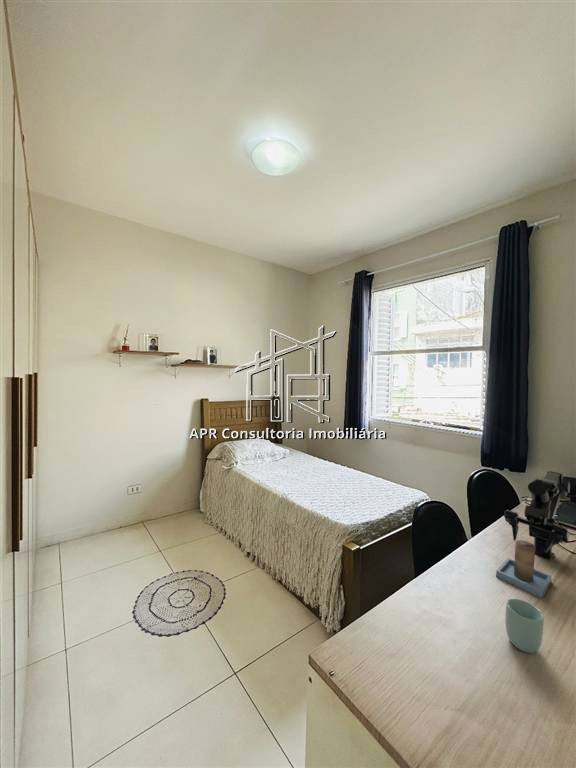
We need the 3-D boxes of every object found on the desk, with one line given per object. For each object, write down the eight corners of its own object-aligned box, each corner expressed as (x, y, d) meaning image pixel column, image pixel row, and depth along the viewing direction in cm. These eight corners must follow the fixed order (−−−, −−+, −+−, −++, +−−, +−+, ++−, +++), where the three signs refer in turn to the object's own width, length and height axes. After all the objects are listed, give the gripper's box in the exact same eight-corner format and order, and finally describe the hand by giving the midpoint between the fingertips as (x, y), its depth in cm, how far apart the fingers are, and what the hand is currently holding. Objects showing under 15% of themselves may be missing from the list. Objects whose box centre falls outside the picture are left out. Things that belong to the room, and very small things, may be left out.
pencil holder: (513, 570, 113) (514, 538, 112) (531, 575, 110) (533, 542, 109) (514, 578, 108) (516, 544, 108) (534, 584, 105) (536, 549, 105)
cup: (527, 634, 85) (530, 599, 85) (548, 660, 77) (551, 622, 77) (498, 631, 86) (500, 596, 85) (516, 656, 78) (518, 619, 78)
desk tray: (507, 563, 118) (508, 557, 118) (551, 582, 108) (551, 576, 108) (496, 576, 110) (496, 570, 110) (541, 598, 100) (542, 591, 100)
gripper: (506, 489, 122) (495, 524, 115) (569, 506, 107) (560, 547, 101) (511, 504, 127) (501, 538, 120) (572, 522, 112) (564, 562, 106)
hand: (529, 545), depth 112 cm, fingers open, 9 cm apart
